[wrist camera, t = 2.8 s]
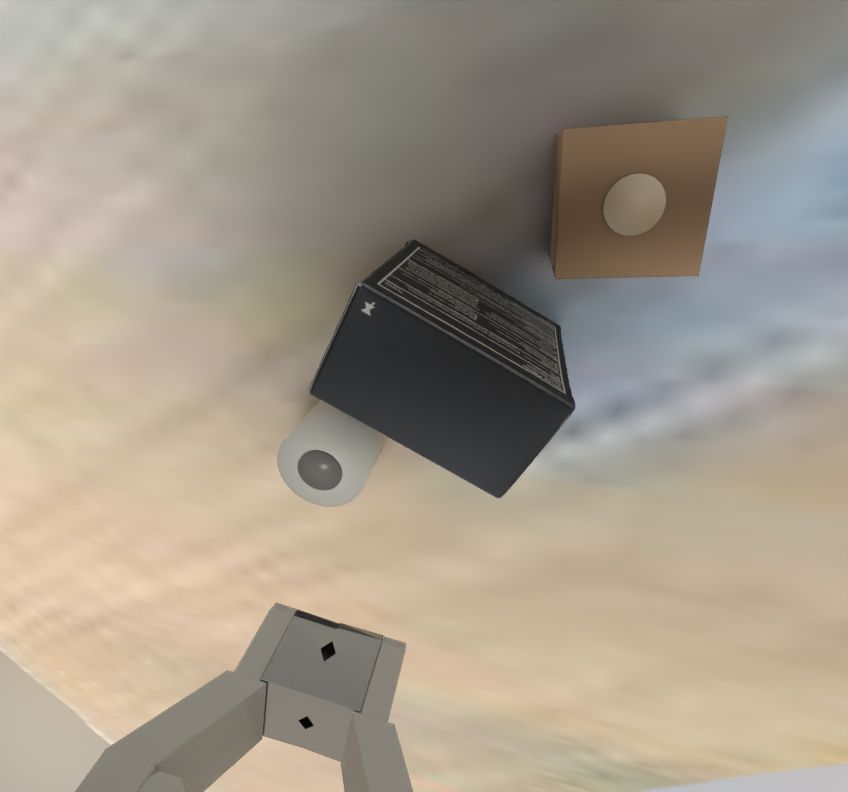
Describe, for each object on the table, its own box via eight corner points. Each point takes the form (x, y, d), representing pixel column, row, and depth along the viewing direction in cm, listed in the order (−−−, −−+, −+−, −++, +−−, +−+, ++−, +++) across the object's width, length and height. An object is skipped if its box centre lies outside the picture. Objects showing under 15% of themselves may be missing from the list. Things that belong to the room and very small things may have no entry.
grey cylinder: (318, 378, 34) (278, 420, 28) (395, 399, 33) (369, 446, 28) (311, 443, 36) (273, 494, 31) (383, 463, 36) (357, 518, 30)
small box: (366, 326, 31) (298, 397, 22) (411, 235, 28) (354, 272, 19) (506, 407, 32) (497, 508, 23) (565, 326, 29) (583, 404, 20)
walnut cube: (555, 135, 25) (563, 128, 19) (682, 125, 24) (730, 115, 18) (549, 255, 27) (555, 279, 22) (663, 252, 26) (700, 277, 21)
